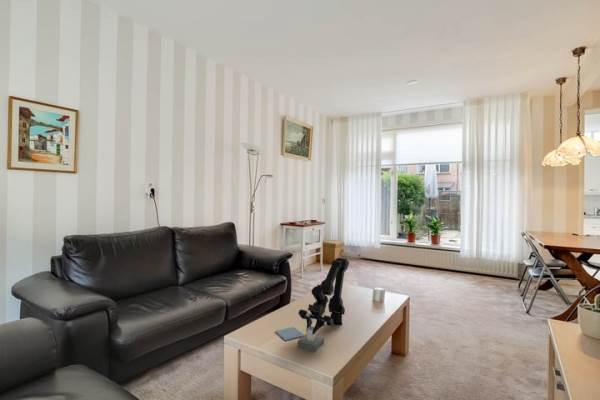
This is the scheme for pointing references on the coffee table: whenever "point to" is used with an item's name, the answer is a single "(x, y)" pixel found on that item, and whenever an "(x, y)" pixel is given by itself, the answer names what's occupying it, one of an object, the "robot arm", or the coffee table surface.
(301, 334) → the mat
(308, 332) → the plug
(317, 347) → the socket block
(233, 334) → the coffee table surface
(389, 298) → the coffee table surface
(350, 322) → the coffee table surface
